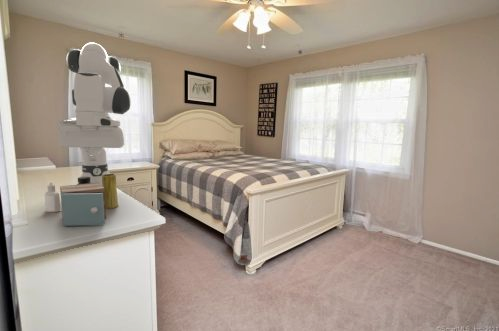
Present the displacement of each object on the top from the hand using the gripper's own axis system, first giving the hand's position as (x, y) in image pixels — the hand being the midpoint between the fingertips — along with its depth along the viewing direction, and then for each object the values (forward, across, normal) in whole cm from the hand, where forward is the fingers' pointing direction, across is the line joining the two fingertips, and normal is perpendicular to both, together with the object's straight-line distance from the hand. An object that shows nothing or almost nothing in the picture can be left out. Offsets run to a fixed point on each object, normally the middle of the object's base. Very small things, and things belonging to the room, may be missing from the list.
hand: (93, 160), depth 93 cm
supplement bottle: (+23, -15, +26) cm, 38 cm away
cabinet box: (+23, -7, +6) cm, 25 cm away
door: (+22, -3, -3) cm, 23 cm away
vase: (+23, -2, +20) cm, 31 cm away
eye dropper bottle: (+23, -23, +16) cm, 36 cm away
